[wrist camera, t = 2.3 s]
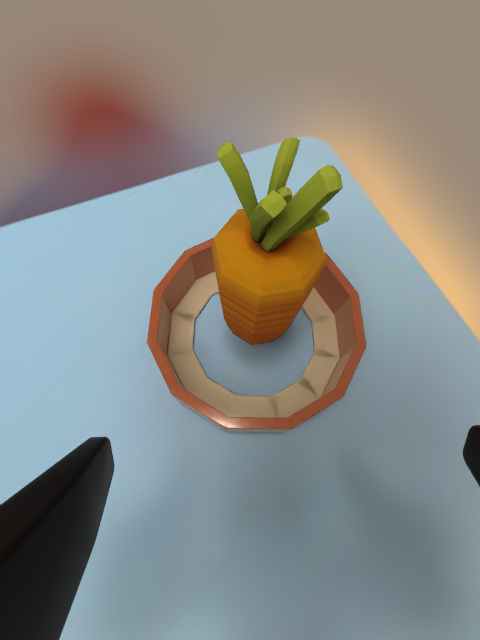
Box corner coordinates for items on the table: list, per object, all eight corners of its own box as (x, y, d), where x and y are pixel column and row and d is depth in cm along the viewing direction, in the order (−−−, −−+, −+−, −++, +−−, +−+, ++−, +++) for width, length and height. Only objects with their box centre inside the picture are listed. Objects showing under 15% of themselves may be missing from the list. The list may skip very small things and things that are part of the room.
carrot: (206, 327, 23) (167, 137, 9) (261, 293, 24) (299, 81, 10) (244, 383, 22) (266, 257, 8) (301, 345, 23) (409, 175, 9)
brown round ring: (383, 370, 22) (408, 356, 19) (215, 474, 19) (211, 478, 16) (281, 234, 26) (288, 204, 23) (132, 303, 24) (117, 279, 20)
